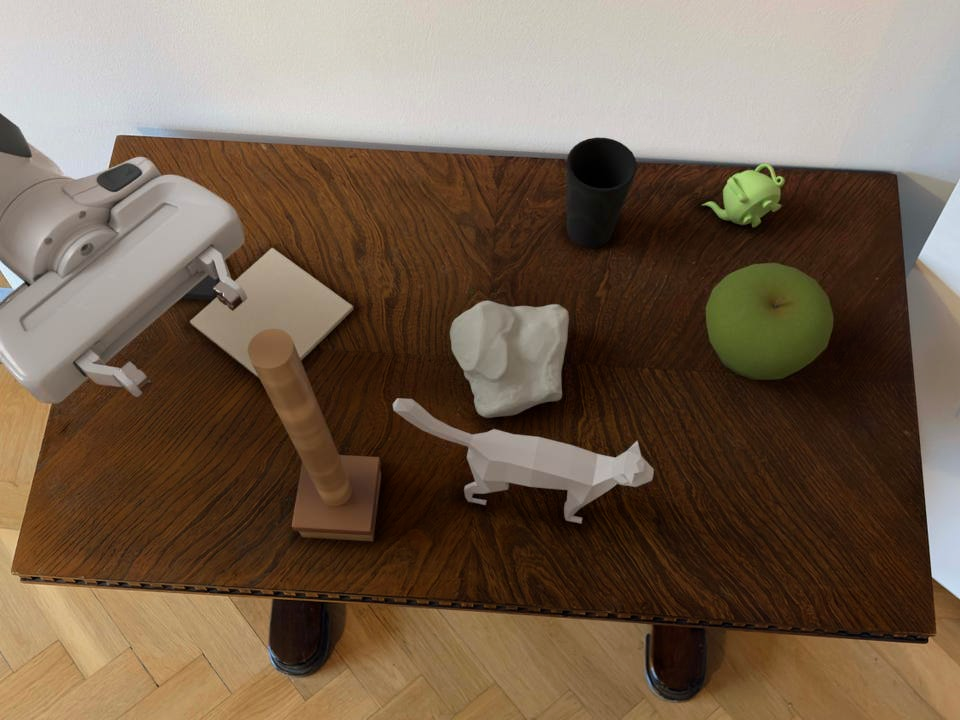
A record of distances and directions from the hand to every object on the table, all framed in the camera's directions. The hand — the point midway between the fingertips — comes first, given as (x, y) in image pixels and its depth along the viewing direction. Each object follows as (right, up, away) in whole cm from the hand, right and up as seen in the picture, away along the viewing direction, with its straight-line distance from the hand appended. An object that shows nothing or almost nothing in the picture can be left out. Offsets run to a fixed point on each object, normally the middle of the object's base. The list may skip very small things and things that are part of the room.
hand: (192, 342), depth 62 cm
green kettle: (+48, +14, +25) cm, 56 cm away
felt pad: (-6, +6, +21) cm, 23 cm away
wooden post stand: (+9, -14, +10) cm, 19 cm away
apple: (+46, -1, +17) cm, 49 cm away
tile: (+1, +3, +19) cm, 19 cm away
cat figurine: (+24, -13, +11) cm, 30 cm away
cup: (+32, +12, +24) cm, 42 cm away
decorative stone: (+24, -3, +16) cm, 29 cm away
